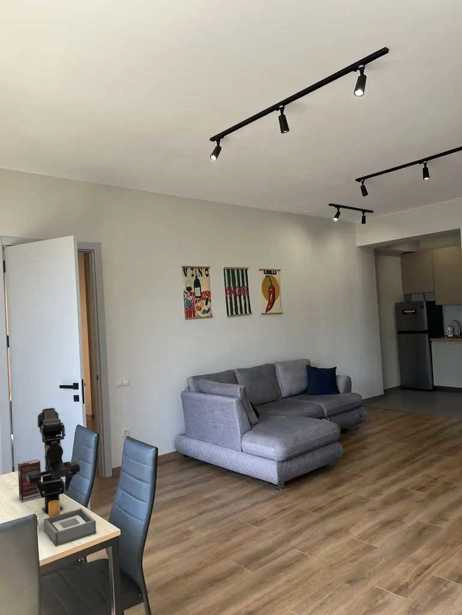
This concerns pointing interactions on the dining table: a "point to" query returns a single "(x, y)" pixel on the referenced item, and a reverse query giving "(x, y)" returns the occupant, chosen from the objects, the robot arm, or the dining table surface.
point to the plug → (54, 508)
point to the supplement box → (25, 488)
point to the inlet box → (69, 526)
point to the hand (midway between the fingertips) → (54, 494)
